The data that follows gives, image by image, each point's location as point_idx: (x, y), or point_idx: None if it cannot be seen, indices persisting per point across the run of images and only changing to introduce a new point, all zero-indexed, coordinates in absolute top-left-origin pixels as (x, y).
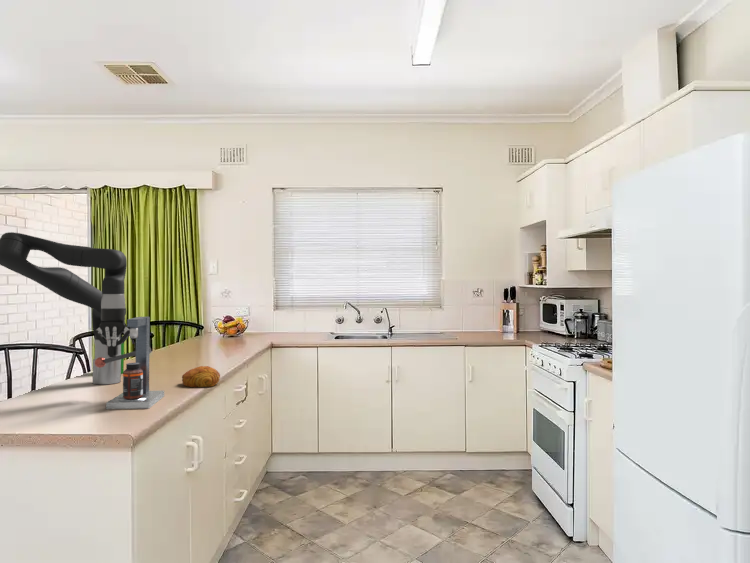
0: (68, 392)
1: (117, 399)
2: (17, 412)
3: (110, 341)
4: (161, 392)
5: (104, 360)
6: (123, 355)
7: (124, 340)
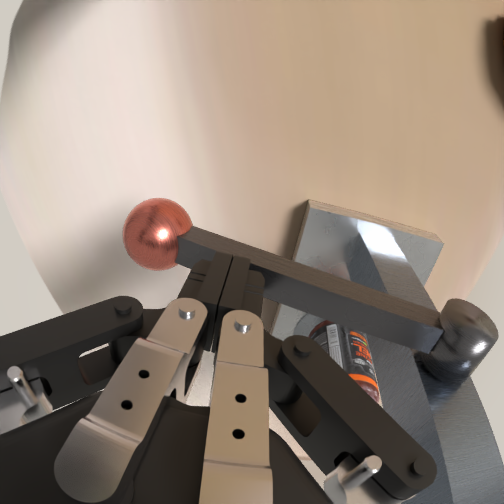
0: (82, 64)
1: (290, 334)
2: (72, 307)
3: (189, 390)
4: (429, 273)
5: (182, 260)
6: (313, 310)
7: (331, 380)
